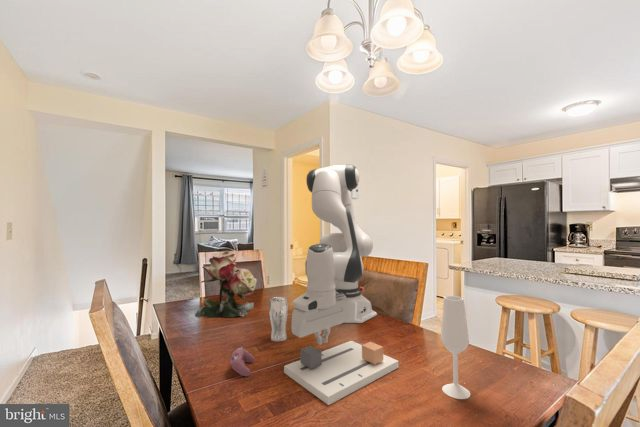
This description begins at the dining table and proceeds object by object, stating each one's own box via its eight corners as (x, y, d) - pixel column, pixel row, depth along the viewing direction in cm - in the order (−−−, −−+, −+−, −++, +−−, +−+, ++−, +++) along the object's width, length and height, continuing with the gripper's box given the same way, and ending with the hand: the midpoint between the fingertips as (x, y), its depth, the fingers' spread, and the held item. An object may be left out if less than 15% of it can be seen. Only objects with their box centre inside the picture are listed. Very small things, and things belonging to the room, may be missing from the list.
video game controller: (242, 366, 93) (232, 347, 93) (255, 359, 94) (245, 340, 93) (236, 383, 83) (225, 362, 83) (251, 375, 84) (240, 354, 84)
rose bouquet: (253, 317, 136) (252, 253, 137) (190, 318, 136) (190, 254, 137) (263, 302, 162) (263, 248, 163) (211, 303, 162) (211, 249, 163)
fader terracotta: (370, 354, 91) (370, 341, 92) (383, 360, 88) (383, 346, 88) (361, 358, 89) (361, 345, 89) (374, 364, 85) (374, 350, 85)
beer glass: (284, 342, 107) (284, 301, 108) (266, 341, 109) (266, 301, 109) (290, 335, 114) (289, 297, 114) (273, 334, 115) (273, 296, 116)
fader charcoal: (311, 358, 89) (311, 345, 89) (321, 364, 85) (321, 350, 85) (300, 362, 87) (300, 349, 87) (310, 369, 83) (310, 354, 83)
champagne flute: (462, 383, 79) (459, 294, 80) (476, 398, 72) (473, 301, 73) (437, 384, 79) (435, 295, 79) (449, 399, 72) (446, 301, 73)
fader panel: (351, 346, 104) (351, 340, 104) (398, 367, 88) (398, 360, 88) (284, 372, 86) (284, 365, 86) (328, 405, 70) (328, 396, 70)
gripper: (338, 289, 98) (339, 330, 98) (288, 302, 85) (289, 349, 85) (352, 293, 93) (353, 336, 93) (300, 307, 80) (301, 357, 80)
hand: (322, 343), depth 89 cm, fingers closed
